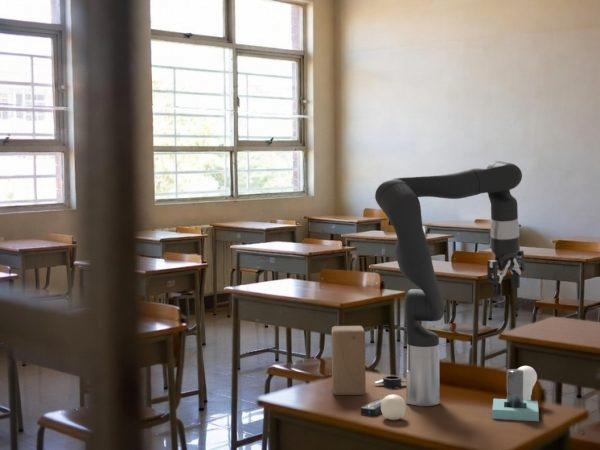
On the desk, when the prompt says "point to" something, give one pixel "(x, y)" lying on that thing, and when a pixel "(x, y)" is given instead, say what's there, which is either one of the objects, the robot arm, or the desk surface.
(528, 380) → the lightbulb
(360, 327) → the wooden block
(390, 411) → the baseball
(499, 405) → the frame
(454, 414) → the desk surface
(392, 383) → the black ring with tabs
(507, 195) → the robot arm
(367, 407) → the multiport hub
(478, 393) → the desk surface
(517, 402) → the brushed steel cylinder
